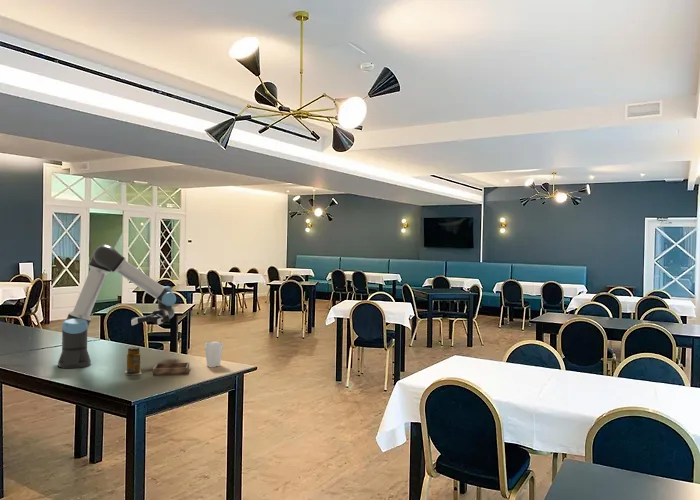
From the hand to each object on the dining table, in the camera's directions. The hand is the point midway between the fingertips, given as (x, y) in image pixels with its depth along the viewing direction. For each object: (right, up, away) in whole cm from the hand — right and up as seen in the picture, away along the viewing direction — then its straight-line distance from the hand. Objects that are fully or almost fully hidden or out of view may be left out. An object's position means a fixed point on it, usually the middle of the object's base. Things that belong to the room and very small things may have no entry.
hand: (145, 322), depth 286 cm
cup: (+35, -23, +3) cm, 42 cm away
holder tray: (+18, -23, -12) cm, 31 cm away
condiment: (0, -23, -16) cm, 28 cm away
